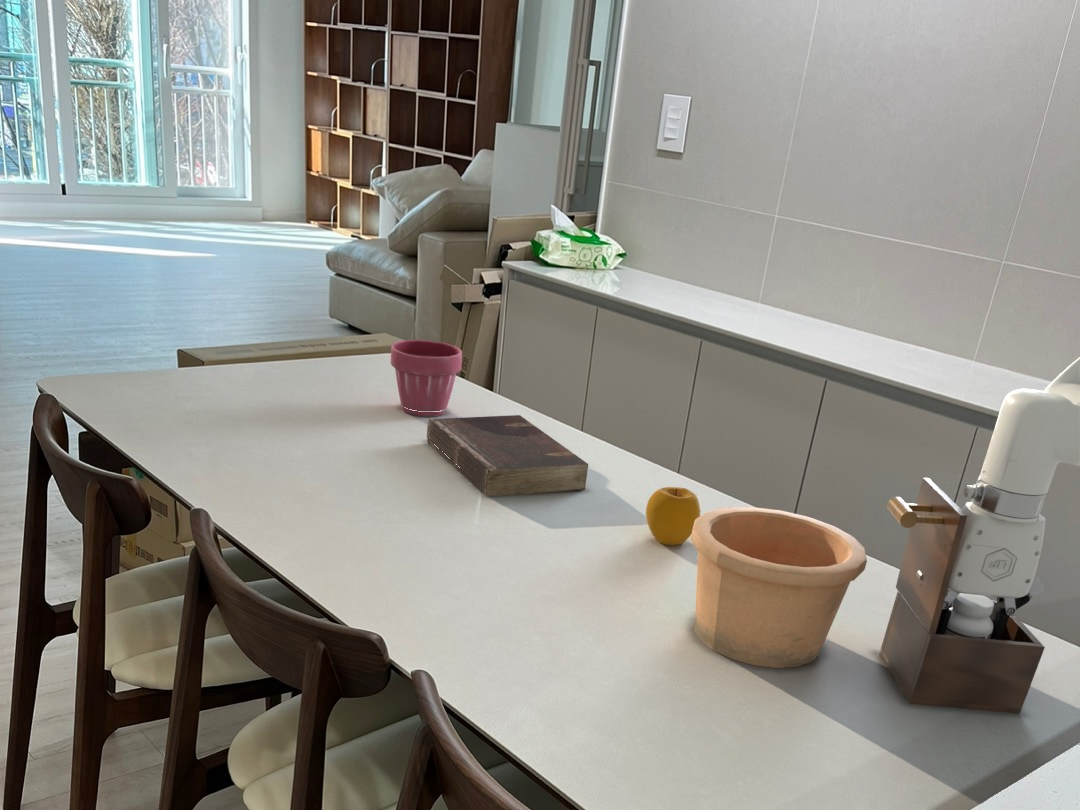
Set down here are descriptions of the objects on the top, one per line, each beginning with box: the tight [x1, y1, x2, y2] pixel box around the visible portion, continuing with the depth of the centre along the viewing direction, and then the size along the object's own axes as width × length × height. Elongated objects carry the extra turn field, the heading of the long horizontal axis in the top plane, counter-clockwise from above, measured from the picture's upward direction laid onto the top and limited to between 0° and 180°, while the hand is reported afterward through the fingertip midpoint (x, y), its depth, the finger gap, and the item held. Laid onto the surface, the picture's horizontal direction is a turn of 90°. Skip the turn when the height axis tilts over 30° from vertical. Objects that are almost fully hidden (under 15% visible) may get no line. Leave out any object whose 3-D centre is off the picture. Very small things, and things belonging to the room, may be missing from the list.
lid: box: [886, 477, 967, 633], centre depth 126 cm, size 15×13×6 cm
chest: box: [878, 590, 1046, 715], centre depth 132 cm, size 14×13×9 cm
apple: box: [645, 486, 701, 547], centre depth 166 cm, size 8×8×9 cm
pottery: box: [690, 506, 868, 669], centre depth 137 cm, size 22×22×14 cm
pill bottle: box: [944, 593, 994, 639], centre depth 131 cm, size 6×6×11 cm
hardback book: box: [426, 414, 589, 497], centre depth 190 cm, size 29×19×5 cm, turn 25°
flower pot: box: [390, 339, 463, 418], centre depth 215 cm, size 14×14×13 cm
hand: (962, 635), depth 131 cm, fingers closed on pill bottle, 6 cm apart
